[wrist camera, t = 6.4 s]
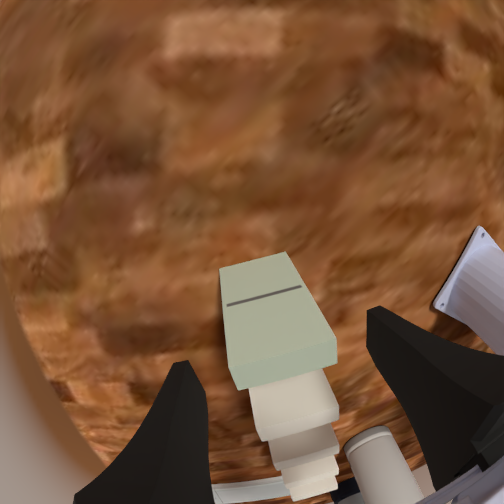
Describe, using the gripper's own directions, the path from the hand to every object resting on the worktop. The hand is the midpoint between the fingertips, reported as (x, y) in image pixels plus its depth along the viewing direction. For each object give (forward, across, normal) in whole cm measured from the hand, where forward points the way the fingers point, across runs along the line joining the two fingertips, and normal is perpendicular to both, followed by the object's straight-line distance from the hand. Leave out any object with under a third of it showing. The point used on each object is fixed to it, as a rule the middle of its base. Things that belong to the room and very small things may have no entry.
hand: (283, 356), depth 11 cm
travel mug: (+8, -8, +28) cm, 30 cm away
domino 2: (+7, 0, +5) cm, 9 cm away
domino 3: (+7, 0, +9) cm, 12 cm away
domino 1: (+7, 0, 0) cm, 7 cm away
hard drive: (+8, +8, +35) cm, 37 cm away
